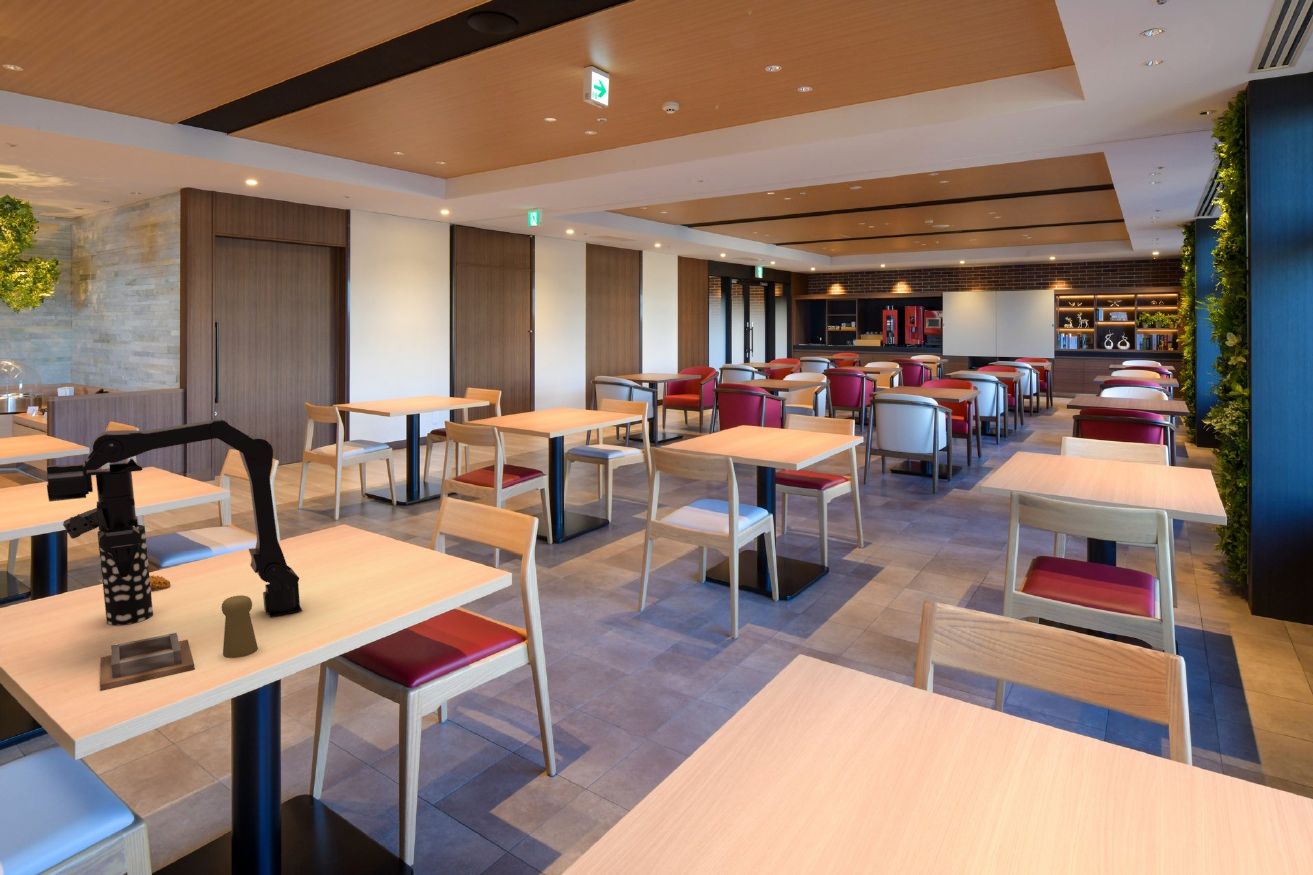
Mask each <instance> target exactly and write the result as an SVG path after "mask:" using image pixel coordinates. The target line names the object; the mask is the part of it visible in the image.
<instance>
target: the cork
mask: <svg viewBox="0 0 1313 875" xmlns="http://www.w3.org/2000/svg"><path fill="white" fill-rule="evenodd" d="M252 608H253V601H252V599H251V598H250V596H248V595H242V594H241V595H240V594H239V595H233V596H230V597H228V598H225V599H224V601H223V602H222V604H221V612H222V614H223V615H224V616H225V619H224V633H223V647H222V656H223V657H224V658H229V659H235V658H242V657H247V656H250V655H252V654H254V653H255V652H257V651H258V649H259V647H258V643H257V638H256V633H255V630H254V626H253V623H252V618H251V613H250V612H251V610H252Z"/></svg>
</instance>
